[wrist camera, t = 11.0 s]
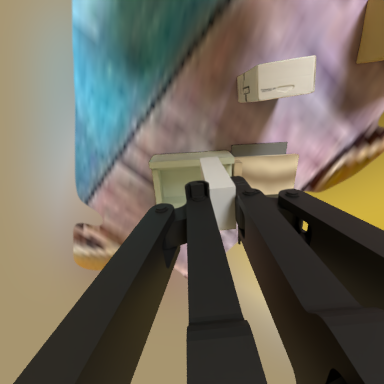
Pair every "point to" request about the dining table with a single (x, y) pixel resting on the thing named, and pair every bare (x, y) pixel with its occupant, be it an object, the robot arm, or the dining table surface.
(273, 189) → the cover plate
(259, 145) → the rubber mat
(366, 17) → the cheese
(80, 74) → the dining table surface
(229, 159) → the sage box
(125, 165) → the dining table surface
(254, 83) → the ink box
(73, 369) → the robot arm
